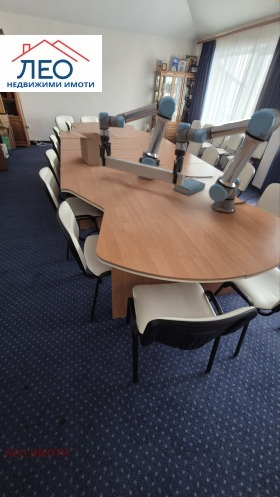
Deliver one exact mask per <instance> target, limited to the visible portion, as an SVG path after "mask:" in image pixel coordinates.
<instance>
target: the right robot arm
mask: <svg viewBox="0 0 280 497" xmlns="http://www.w3.org/2000/svg"><path fill="white" fill-rule="evenodd" d="M278 128H280V110H279V109H277V108H272V107H271V108H268V107H267V108H266V107H265V108H261V109H259V110H257V111H255V112H254V113H253V114H252V115H251V116H250V117H248V118H244V119H243V118H242V119H239V120H235V121H229V122H226V123H220V124H216V125H212V126H207V127H202V128H201V127H200V128H194V127H193V128H192V127H191V124H190V123H187V122H180V123H179V124H178V127H177V130H176V131H177V133H176V141H175V146H174V148H175V149H174V156H176V157H175V160H173V168H172V171H173V174H172V175H173V184H172V185H175V184H176V182H177V173H178V172H181V173H183V164H184V159H185V156H186V154H187V147H188V145H189V144H188V142H191V143H196V144H204V143H205V142H206V141H210V140H214V139H215V140H216V139H221V138H226V137H227V138H228V137H232V136H239V135H243V134H244V138H243V140H242V142H241V143H240V145H239V147H238V148H237V150H236V152H235V153H234V155H233V157H232V158H231V161H230V162H229V164H228V165H227V167H226V169H225V170H224V172H223V174H222V175H220V176H218V177H217V179H216V180H215V183H214V184H212V185H211V186H210V187H209V189H208V195H209V198H210V199H211V201H213V202H212V208H213V209H214V210H215V211H217V212H220V213H224V214H230V213H233V212H234V211H235V205H242V204H245V203H246V202H247V201H248V200H250V199H253V198H257V199H258V198H259V197H258V196H257V195H253V196H250V197H248V198H246V199H245V200H244V201H241V202H235V200H236V196H237V194H238V191H239V188H240V185H241V181H242V179H241V178H239V177H240V175H241V173H242V172H243V171H244V169H245V168H246V166H247V164H248V163H249V162H250V160H251V158H252V157H253V155H254V154H255V152H256V150H257V149H258V148H259V146H260V145H261V144H264V143H266V141H267V140H268V138H269V136H270V135H271V133H273V132H275V131H276V130H278Z"/></svg>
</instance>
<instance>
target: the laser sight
mask: <svg viewBox="0 0 280 497" xmlns="http://www.w3.org/2000/svg"><path fill="white" fill-rule="evenodd" d="M142 158H143V156H142V157H139V159H138V163H141V162H142ZM160 165H161V159H157V162H156V166H160Z"/></svg>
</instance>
